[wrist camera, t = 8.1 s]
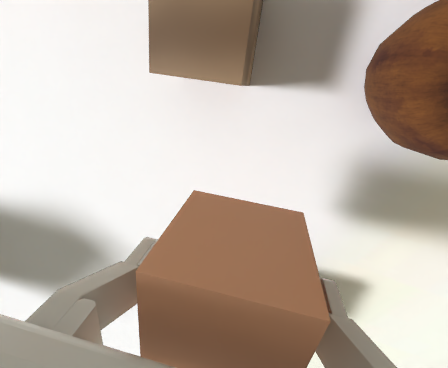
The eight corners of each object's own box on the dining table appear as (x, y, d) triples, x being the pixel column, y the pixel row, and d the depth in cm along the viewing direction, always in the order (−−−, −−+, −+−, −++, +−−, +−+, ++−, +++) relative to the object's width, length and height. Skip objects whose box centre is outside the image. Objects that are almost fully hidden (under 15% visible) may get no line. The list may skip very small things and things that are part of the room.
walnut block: (186, -10, 14) (147, -53, 10) (263, -3, 14) (260, -45, 9) (182, 76, 16) (149, 72, 12) (249, 85, 16) (241, 85, 11)
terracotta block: (193, 190, 10) (135, 271, 6) (303, 212, 10) (330, 321, 5) (187, 269, 13) (141, 372, 8) (277, 291, 12) (281, 416, 7)
